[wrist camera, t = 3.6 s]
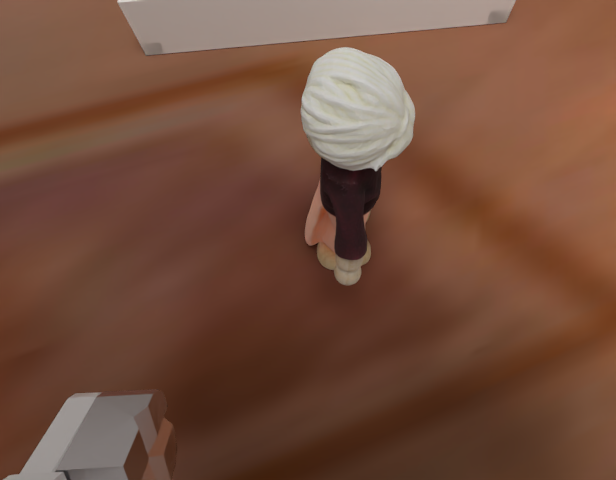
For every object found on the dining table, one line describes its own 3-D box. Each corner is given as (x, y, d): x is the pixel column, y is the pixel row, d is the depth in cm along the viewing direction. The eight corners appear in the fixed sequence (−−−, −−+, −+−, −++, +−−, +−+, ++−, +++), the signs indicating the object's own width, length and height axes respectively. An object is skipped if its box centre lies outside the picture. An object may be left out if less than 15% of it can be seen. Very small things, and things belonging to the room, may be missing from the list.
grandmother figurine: (298, 177, 25) (265, -25, 13) (368, 168, 25) (398, -42, 13) (314, 317, 23) (292, 221, 11) (392, 308, 23) (456, 200, 11)
